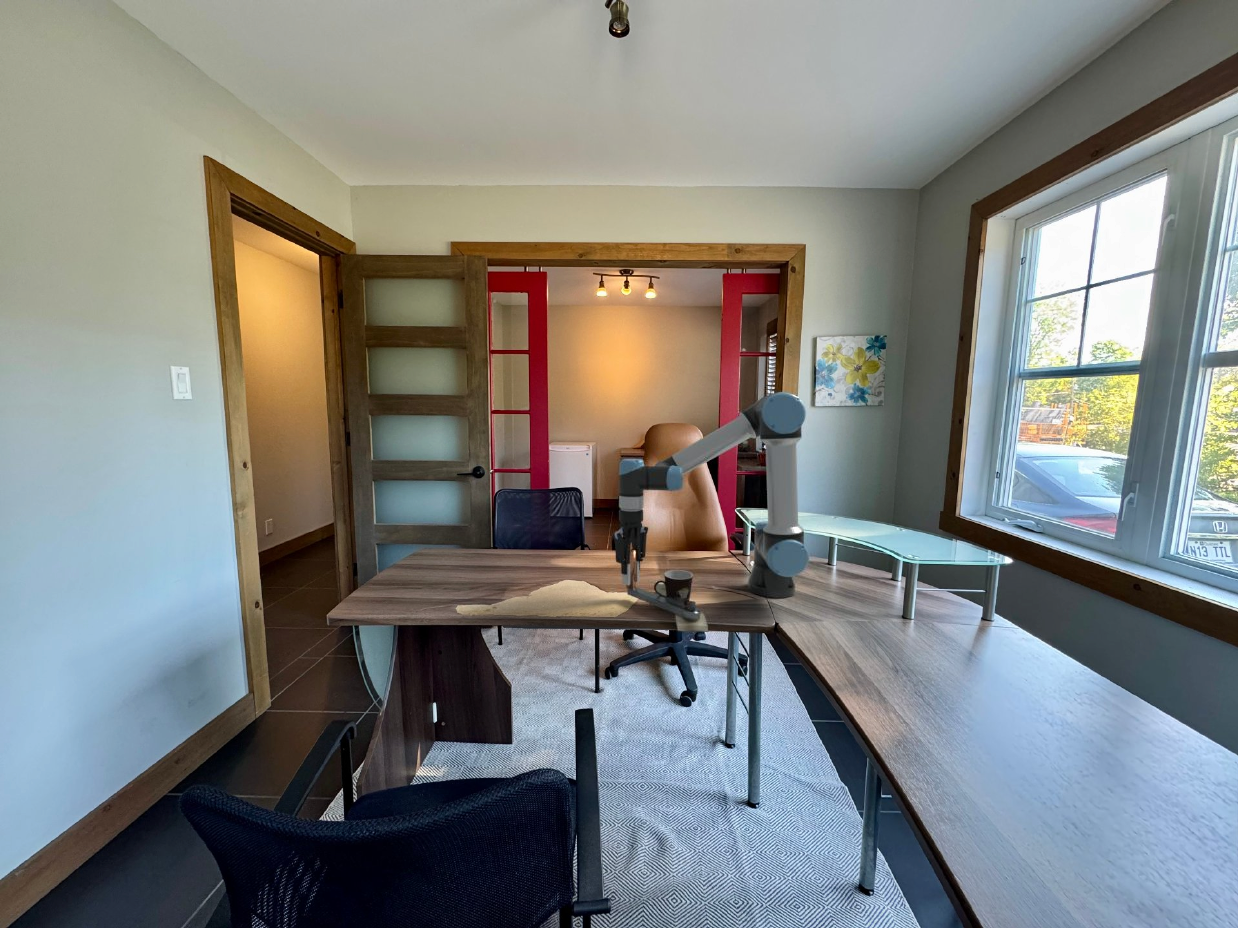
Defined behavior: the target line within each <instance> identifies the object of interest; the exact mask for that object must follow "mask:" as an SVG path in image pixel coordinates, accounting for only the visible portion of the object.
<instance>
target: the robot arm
mask: <svg viewBox="0 0 1238 928" xmlns="http://www.w3.org/2000/svg"><path fill="white" fill-rule="evenodd" d="M806 414H807V411H806V407H805V404H804V402H803V401H802V399H800V397H798V396H797V395H795V394H793V393H789V392H787V391H786V392H785V391H779V392H773V393H772V394H767V395H765V396H762V397H761V398H760V399H758V400H757V401H756V402H754V403H753V404H752V405H750V406H749V407H748V408H746V409H745V410H743V411H741V412H739V414H738V417H737V418H735V419H734V420H732V421H730V422H727V423H726V424H725V425H723V426H721V427H720V428H718V429H717V428H716V430H714V431H712V432H711V433H708V434H707V435H706V436H703V437H701V438H700V439H698V440H696V441H695V442H694V443H691V444H690V445H688V446H686V447H685V448H683V449H681V450H679V451H678V452H676V453H674V454H672V455H671V456H669V457H667V458H666V459H665V458H664V459H663V460H660V461H658V462H657V463H655V464H654V465H645V462H644V460H643V459H642V458H623V459H622V460H620V462H619V469H618V470H619V471H618V472H619V473H618V489H619V490H618V491H619V492H618V493H619V494H618V495H619V496H618V499H619V500H618V507H619V508H620V509H619V510H618V520H619V523H620V525H619V529H618V531H613V532H612V536H613V538H614V552H615V562H616V563H617V564H620V565H621V566H620V569H621V571H620V572H621V575H622V577H621V580H622V584H624V585H625V586H626V585H630V564H628V561H629V553H630V548H632V549H636V583H639V582H640V571H641V562H643V560H644V558H646V552H647V538H648V537H647V536H648V535H647V534H648V533H649V527H648V526H644V525H643V523H642V522H643V521H644V510H643V508H644V491H668V492H673V491H676V492H677V491H681V490H682V489H683V486H684V485H683V483H684V481H683V479H684V475H686V474H688V473H689V472H691V471H694V470H695V469H697V468H699V467H700V466H701V465H704V464H706V463H707V462H709V461H710V460H713V459H715V458H717V457H718V456H719V455H722V454H723V453H726V452H727V451H729V450H731V449H732V448H734V447H736V446H738V445H739V444H741V443H744V442H745V441H747V440H748V439H750V438H751V439H756V438H758V437H759V440H760V441H761V442H762V444H764V445H765V464H766V465H765V466H766V467H765V469H766V470H765V471H766V491H767V492H766V493H767V495H766V497H767V498H766V499H767V501H766V502H767V521H757V522H756V523H755V524H754V525H755V528H754V531H753V532H754V550H753V551H754V553H753V554H754V556H753V567H752V569H751V571H750V574H749V577H748V581H747V589H748V590H749V591H750V592H752V593H753V594H756V595H759V596H762V597H768V598H775V599H777V598H779V599H780V598H781V599H783V598H789V597H792V596H794V595H796V583H795V580H794V577H796V576H798V575H799V574H801V573H803V571H805V570H806V568H807V567H808V565H809V562H810V561H809V560H810V553H809V550H808V548H807V546H806V545H805V529H804V528H803V527H802V526H801V525H800V524H799V503H798V500H799V499H798V468H797V467H798V466H797V465H798V464H797V462H798V461H797V459H798V458H797V456H798V455H797V443H798V442H799V441H800V440H802V438H803V437H802V426H803V425H804V423H805V420H806V416H807V415H806Z"/></svg>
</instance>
